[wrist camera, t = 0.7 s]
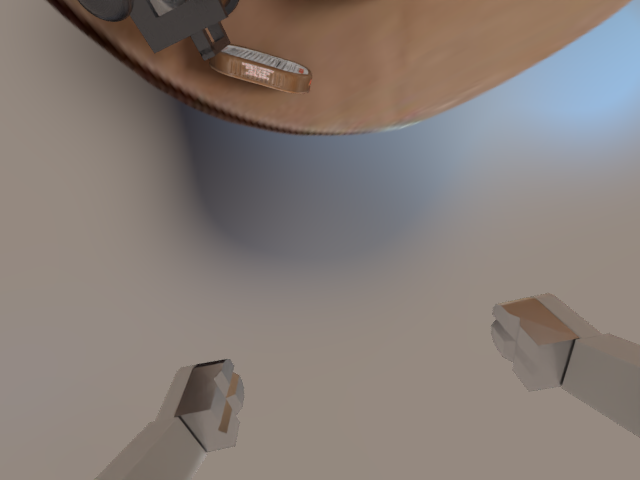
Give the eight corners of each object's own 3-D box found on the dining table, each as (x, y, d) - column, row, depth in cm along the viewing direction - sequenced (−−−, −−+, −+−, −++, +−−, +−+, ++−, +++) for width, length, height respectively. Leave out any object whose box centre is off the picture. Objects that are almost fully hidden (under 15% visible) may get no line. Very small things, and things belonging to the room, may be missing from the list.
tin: (218, 57, 46) (200, 73, 40) (218, 34, 43) (199, 47, 37) (311, 84, 48) (307, 103, 42) (315, 63, 46) (312, 79, 40)
